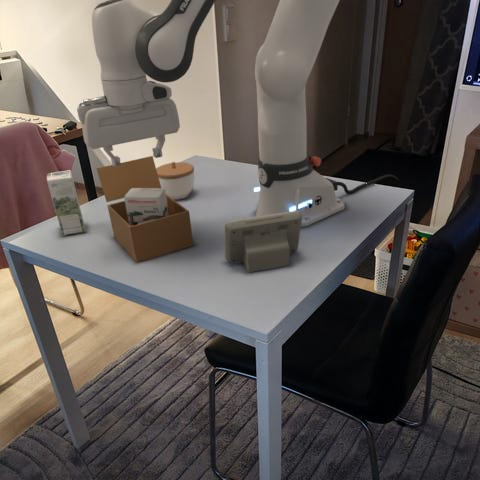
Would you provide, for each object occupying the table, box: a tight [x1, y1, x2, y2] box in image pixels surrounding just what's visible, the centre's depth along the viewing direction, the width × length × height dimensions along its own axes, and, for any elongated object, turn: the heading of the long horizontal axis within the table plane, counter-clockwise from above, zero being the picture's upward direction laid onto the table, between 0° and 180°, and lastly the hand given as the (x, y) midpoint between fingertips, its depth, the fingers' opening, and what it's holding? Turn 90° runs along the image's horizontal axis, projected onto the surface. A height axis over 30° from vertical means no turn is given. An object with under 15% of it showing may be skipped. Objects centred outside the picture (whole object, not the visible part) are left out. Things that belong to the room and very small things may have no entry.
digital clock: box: [224, 211, 302, 273], centre depth 109 cm, size 16×9×11 cm, turn 91°
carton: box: [107, 195, 194, 263], centre depth 122 cm, size 16×14×8 cm
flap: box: [96, 155, 161, 203], centre depth 124 cm, size 8×14×1 cm
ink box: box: [123, 188, 169, 226], centre depth 121 cm, size 9×5×12 cm, turn 81°
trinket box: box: [156, 161, 195, 201], centre depth 146 cm, size 11×11×9 cm
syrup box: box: [46, 169, 86, 237], centre depth 129 cm, size 6×6×14 cm
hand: (137, 161), depth 114 cm, fingers open, 8 cm apart
